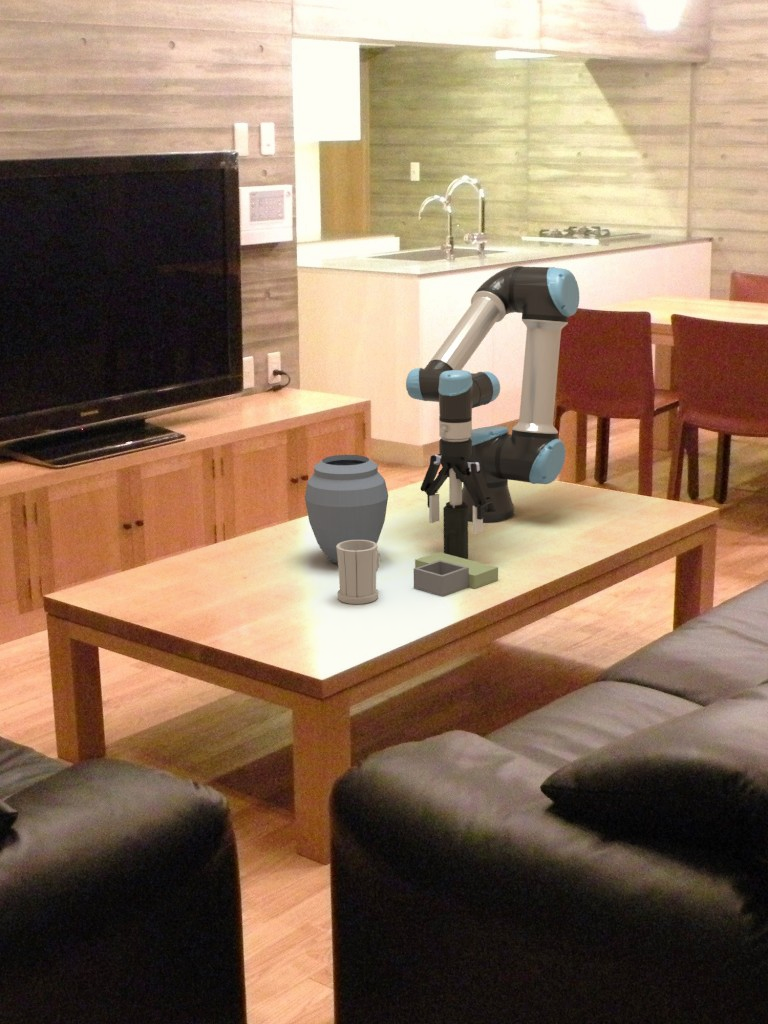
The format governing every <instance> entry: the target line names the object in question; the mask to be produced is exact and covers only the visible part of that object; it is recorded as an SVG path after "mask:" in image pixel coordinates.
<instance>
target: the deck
mask: <svg viewBox="0 0 768 1024" xmlns="http://www.w3.org/2000/svg"><path fill="white" fill-rule="evenodd" d="M498 581H499V567H498V566H494V565H490V564H486V563H482V562H479V561H475V560H471V559H469V558H467V559H464V558H460V557H456V556H452V555H449V554H445V553H444V552H440V551H438V552H434V553H431V554H428V555H425V556H422V557H419V558H415V560H414V568H413V589H416V590H419V591H423V592H426V593H430V594H433V595H436V596H440V597H444V596H448V595H450V594H453V593H454V594H455V593H456V592H459V591H462V590H465V589H467V588H471V589H477V588H480V587H483V586H485V585H488V584H491V582H492V583H494V582H498Z"/></svg>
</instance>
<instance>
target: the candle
mask: <svg viewBox="0 0 768 1024" xmlns="http://www.w3.org/2000/svg"><path fill="white" fill-rule="evenodd" d="M448 478H449V481H448V483H449V484H448V485H449V487H448V489H449V493H448V494H449V495H448V496H449V501H448V502H446V503H445V506H444V507H443V512H442V513H443V553H445V554H449V555H452V556H456V557H460V558H464V559H469V520H468V505H466V503H464V502H462V489H463V482H461V481H460V479H456V473H455V472H454V470H453V469H452V468H451V469H450V470H449V477H448Z"/></svg>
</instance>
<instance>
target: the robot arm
mask: <svg viewBox="0 0 768 1024" xmlns="http://www.w3.org/2000/svg"><path fill="white" fill-rule="evenodd" d="M579 304H580V289H579V284H578V281H577V279H576V276H575V275H574V274H573V273H572V271H571V270H569V269H567V268H561V267H560V268H559V267H555V266H552V267H551V266H550V267H549V266H547V267H545V266H522V265H516V266H509V267H506V268H504V269H502V270H500V271H498V272H496V273H495V274H493V275H492V276H490V277H489V278H487V280H485V281H484V282H483V283H482V284H481V285H480V286H479V287H478V288H477V290H476V291H474V293H473V295H472V297H471V298H470V306H469V307H468V308H467V310H466V311H465V312H464V313H463V315H462V316H461V318H460V320H459V321H458V322H457V323H456V325H455V326H454V328H453V329H452V331H450V333H449V335H448V336H447V337H446V339H445V340H444V341H443V343H442V344H441V345H440V347H439V348H438V349H437V351H436V353H435V354H434V355H433V356H432V357H431V359H430V361H429V362H428V363H427V365H426V366H425V367H424V368H423V367H417V368H415V367H414V368H413V369H411V370H410V371H409V372H408V373H407V377H406V380H405V387H406V388H405V389H406V391H407V394H408V396H409V397H410V398H412V399H414V400H419V401H423V402H436V403H437V402H438V404H439V405H438V407H439V409H438V410H439V416H438V417H439V418H438V421H439V423H438V424H439V428H438V429H439V430H438V431H439V437H440V439H439V440H438V441H439V445H438V447H439V453H437V454H433V455H431V456H430V460H429V466H428V468H427V470H426V473H425V476H424V478H423V480H422V482H421V486H420V491H421V492H425V494H426V495H427V496H426V497H427V508H429V509H428V510H429V515H428V516H429V519H428V520H429V523H430V524H433V523H436V522H439V521H440V494H439V490H440V488H441V487H442V486H443V484H444V483H445V482H446V480H447V479H448V478H449V470H450V469H451V468H452V469H453V470H454V472H455V473H456V479H460V481H461V482H462V502H464V503H466V505H468V522H469V521H470V522H472V534H474V535H476V534H479V533H482V532H484V523H494V522H501V521H506V520H507V521H508V520H509V519H512V518H513V517H514V516H515V505H514V503H513V500H512V496H511V492H510V490H509V481H517V482H524V483H529V484H530V483H531V485H532V484H533V485H536V484H539V485H549V484H552V483H553V482H554V481H555V480H557V478H558V476H559V475H560V473H561V471H562V470H563V466H564V464H565V459H566V448H565V447H566V446H565V444H564V442H563V440H560V439H559V437H558V436H559V430H557V428H556V427H555V426H554V425H553V424H554V416H555V414H554V413H555V405H556V393H557V382H558V381H557V380H558V369H559V358H560V346H561V337H562V330H563V328H564V327H566V326H567V325H568V324H569V317H571V316H574V315H575V314H576V313H577V311H578V308H579ZM511 313H512V314H513V313H519V314H521V321H522V322H523V324H524V325H525V326H526V333H525V335H526V337H525V349H524V360H523V370H522V381H521V384H522V385H521V395H520V404H519V405H520V406H519V407H520V408H519V416H518V422H517V423H516V424H515V425H514V426H513V427H512V429H511V434H510V431H509V428H508V427H506V426H503V425H502V426H501V425H495V426H485V427H478V428H474V429H473V423H472V422H473V421H472V420H473V419H472V418H473V417H472V416H473V415H472V414H473V409H474V408H477V407H480V406H481V407H482V406H485V405H489V404H490V403H491V402H494V401H495V400H496V399H497V398H498V396H499V395H500V392H501V384H500V381H499V378H498V377H497V375H496V374H494V373H493V372H490V371H478V372H476V373H473V372H472V373H471V372H470V371H469V370H468V371H467V370H465V369H464V370H463V368H464V367H465V366H466V365H467V363H468V361H469V360H470V359H471V358H472V356H473V355H474V353H475V352H476V350H477V349H478V348H479V346H480V345H481V344H482V342H483V341H484V339H485V338H486V337H487V335H488V334H489V332H490V331H491V330H492V328H493V327H494V325H495V324H496V323H499V322H501V321H503V319H504V318H505V316H506V315H508V314H511ZM440 467H441V469H440ZM439 469H440V470H439ZM437 474H438V475H437Z"/></svg>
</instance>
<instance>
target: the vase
mask: <svg viewBox="0 0 768 1024" xmlns="http://www.w3.org/2000/svg"><path fill="white" fill-rule="evenodd" d="M378 467H379V466H378V464H377V463H376V462H374V460H372V459H370V458H369V457H367V456H364V455H358V454H337V455H330V456H327V457H324V458H322V459H321V460H320V461H319V462H317V463H316V464H315V465H314V466H313V472H314V473H312V475H311V476H310V478H309V479H308V480H307V482H306V488H305V494H304V501H305V506H306V511H307V516H308V522H309V525H310V527H311V531H312V532H313V534H314V538H315V541H316V543H317V544H318V546H319V547H320V549H321V551H322V552H323V554H324V556H326V558H327V559H328V560H329V561H330V562H332V563H334V564H336V565H338V557H337V548H336V546H337V544H339V543H341V542H344V541H349V540H368V541H372V542H375V543H376V544H377V545H378V542H379V538H380V537H381V533H382V530H383V526H384V525H385V521H386V514H387V508H388V501H389V500H388V499H389V493H388V492H389V491H388V488H387V484H386V480H385V478H384V476H382V475H381V473H380V472H379V471H378V470H379V469H378Z"/></svg>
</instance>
